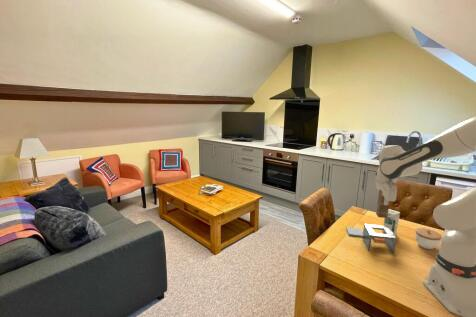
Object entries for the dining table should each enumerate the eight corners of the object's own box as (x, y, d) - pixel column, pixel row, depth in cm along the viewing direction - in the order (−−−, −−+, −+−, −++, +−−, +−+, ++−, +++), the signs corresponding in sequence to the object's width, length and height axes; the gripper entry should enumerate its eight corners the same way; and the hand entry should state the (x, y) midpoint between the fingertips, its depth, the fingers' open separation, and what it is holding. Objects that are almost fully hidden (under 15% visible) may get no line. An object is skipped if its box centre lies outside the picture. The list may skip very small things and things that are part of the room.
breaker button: (384, 243, 124) (385, 240, 124) (374, 242, 125) (374, 239, 125) (381, 238, 129) (382, 235, 128) (371, 237, 130) (371, 234, 130)
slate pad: (363, 237, 136) (364, 235, 135) (348, 235, 138) (348, 233, 137) (360, 230, 143) (360, 228, 143) (346, 228, 145) (346, 227, 145)
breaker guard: (393, 253, 121) (396, 238, 119) (367, 250, 124) (369, 234, 122) (386, 240, 132) (388, 226, 130) (362, 238, 135) (364, 223, 133)
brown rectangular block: (387, 218, 121) (391, 192, 118) (378, 217, 122) (382, 191, 119) (384, 214, 125) (388, 189, 122) (376, 213, 126) (379, 189, 123)
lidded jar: (429, 240, 132) (432, 225, 130) (444, 252, 121) (447, 236, 119) (409, 239, 133) (411, 224, 131) (421, 251, 123) (424, 235, 120)
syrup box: (381, 233, 139) (385, 211, 136) (386, 230, 142) (389, 208, 139) (392, 238, 135) (396, 214, 131) (396, 234, 138) (400, 211, 135)
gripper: (402, 184, 108) (398, 211, 112) (387, 171, 128) (384, 195, 131) (387, 183, 110) (383, 210, 113) (374, 170, 129) (371, 194, 132)
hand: (383, 202), depth 122 cm, fingers closed on brown rectangular block, 4 cm apart
